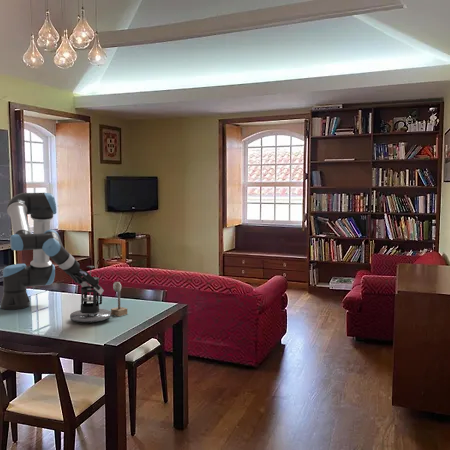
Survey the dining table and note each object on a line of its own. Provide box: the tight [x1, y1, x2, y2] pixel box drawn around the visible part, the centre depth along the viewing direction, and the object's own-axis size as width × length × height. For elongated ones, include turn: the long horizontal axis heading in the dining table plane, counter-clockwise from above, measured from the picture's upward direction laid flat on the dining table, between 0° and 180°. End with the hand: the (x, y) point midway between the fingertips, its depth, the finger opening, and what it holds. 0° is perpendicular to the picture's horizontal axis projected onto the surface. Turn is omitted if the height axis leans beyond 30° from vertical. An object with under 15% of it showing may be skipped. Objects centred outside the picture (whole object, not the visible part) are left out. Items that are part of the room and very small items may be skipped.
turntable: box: [69, 308, 112, 323], centre depth 238 cm, size 20×20×2 cm
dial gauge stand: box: [110, 281, 128, 317], centre depth 248 cm, size 6×6×18 cm
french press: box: [80, 265, 103, 314], centre depth 237 cm, size 12×9×23 cm
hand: (95, 291), depth 239 cm, fingers closed on french press, 9 cm apart
